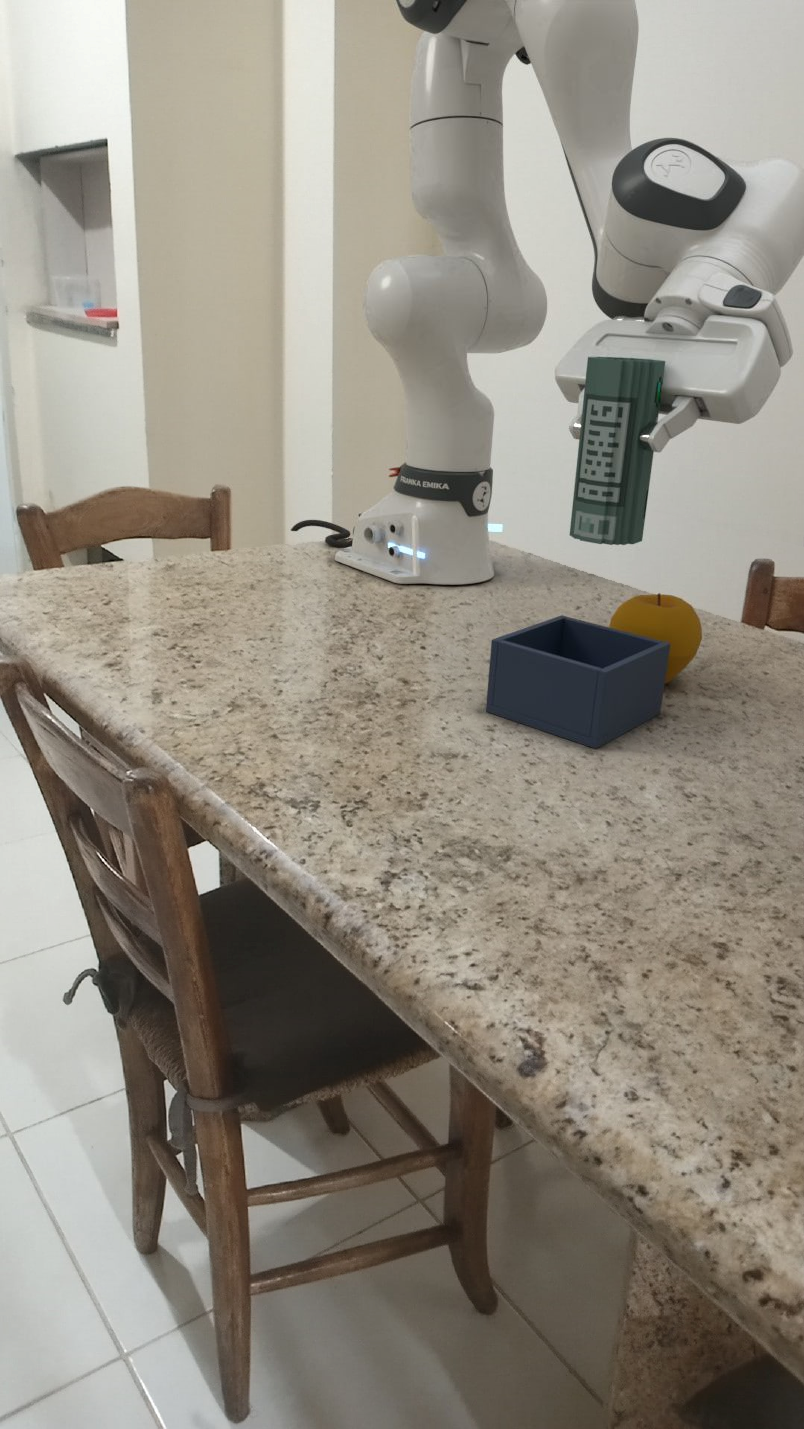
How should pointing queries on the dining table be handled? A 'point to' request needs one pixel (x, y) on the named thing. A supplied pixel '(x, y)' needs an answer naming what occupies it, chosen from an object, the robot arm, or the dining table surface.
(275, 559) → the dining table surface
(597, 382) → the can
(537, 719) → the dark blue bin
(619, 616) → the apple
